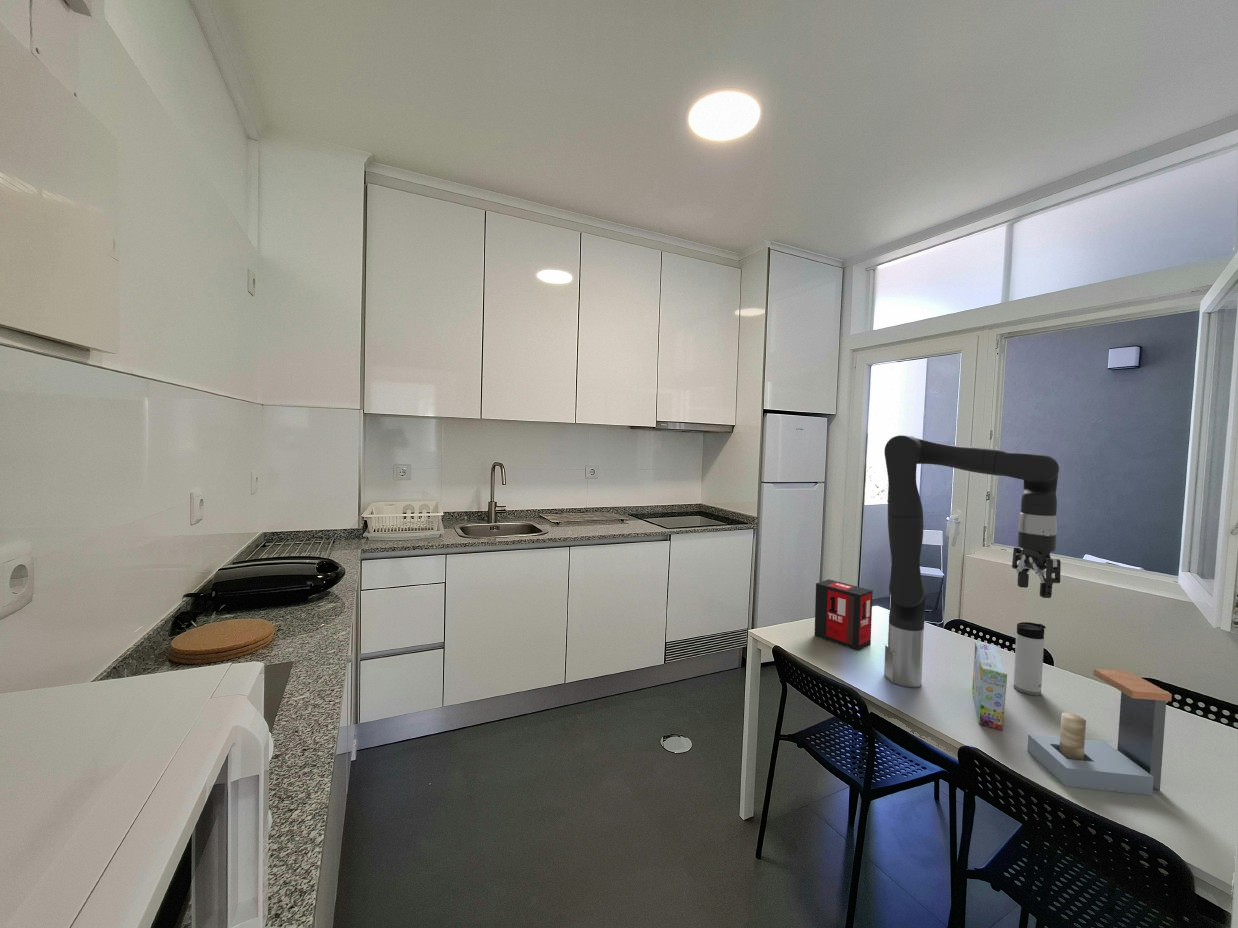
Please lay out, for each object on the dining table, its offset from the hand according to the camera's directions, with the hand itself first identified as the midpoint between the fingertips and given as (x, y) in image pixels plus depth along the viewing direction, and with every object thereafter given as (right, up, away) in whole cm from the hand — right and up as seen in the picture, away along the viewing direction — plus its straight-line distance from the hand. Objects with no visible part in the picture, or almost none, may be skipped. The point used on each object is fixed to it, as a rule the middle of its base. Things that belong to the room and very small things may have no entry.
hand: (1033, 592), depth 126 cm
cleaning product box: (-27, -31, +51) cm, 65 cm away
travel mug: (+12, -34, +16) cm, 39 cm away
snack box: (-8, -34, +6) cm, 35 cm away
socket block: (-5, -35, -19) cm, 40 cm away
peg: (-7, -35, -18) cm, 40 cm away
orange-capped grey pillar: (+2, -35, -20) cm, 40 cm away
